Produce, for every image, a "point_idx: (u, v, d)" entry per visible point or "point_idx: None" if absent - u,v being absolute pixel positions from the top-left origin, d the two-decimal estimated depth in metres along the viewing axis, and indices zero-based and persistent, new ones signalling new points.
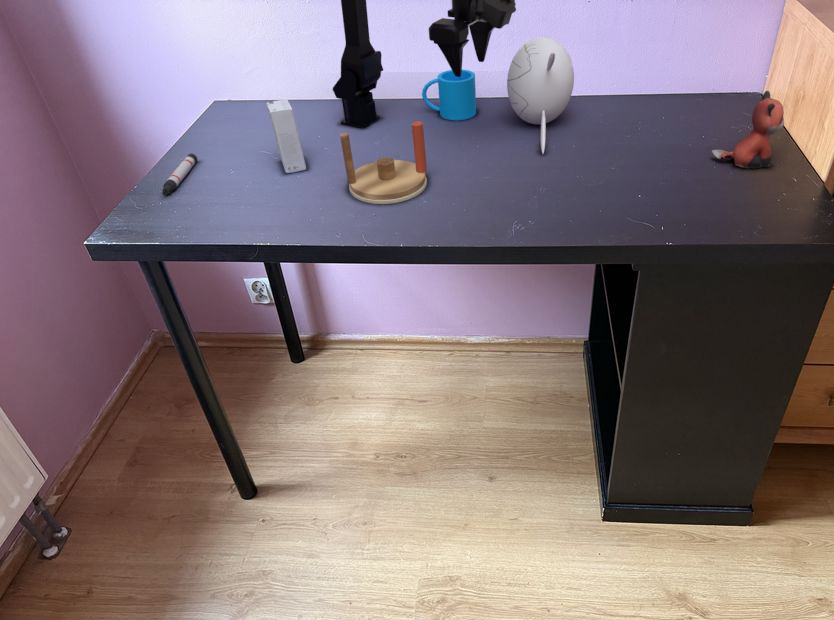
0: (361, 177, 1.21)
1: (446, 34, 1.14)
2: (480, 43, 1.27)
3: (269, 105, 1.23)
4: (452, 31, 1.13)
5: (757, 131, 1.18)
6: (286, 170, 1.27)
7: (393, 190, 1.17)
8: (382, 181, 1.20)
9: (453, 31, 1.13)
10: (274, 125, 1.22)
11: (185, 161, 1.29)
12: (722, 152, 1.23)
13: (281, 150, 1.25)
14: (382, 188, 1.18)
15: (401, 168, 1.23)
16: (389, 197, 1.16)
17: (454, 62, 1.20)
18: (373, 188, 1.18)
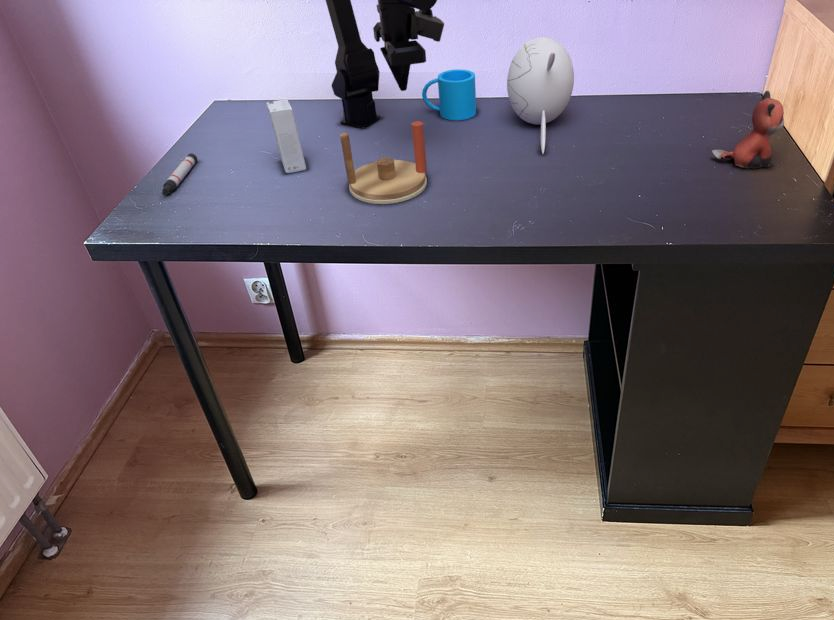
0: (361, 177, 1.21)
1: (413, 55, 1.14)
2: None
3: (269, 105, 1.23)
4: (420, 51, 1.14)
5: (757, 131, 1.18)
6: (286, 170, 1.27)
7: (393, 190, 1.17)
8: (382, 181, 1.20)
9: (421, 51, 1.14)
10: (274, 125, 1.22)
11: (185, 161, 1.29)
12: (723, 152, 1.23)
13: (281, 150, 1.25)
14: (382, 188, 1.18)
15: (401, 168, 1.23)
16: (389, 197, 1.16)
17: (403, 76, 1.23)
18: (373, 188, 1.18)
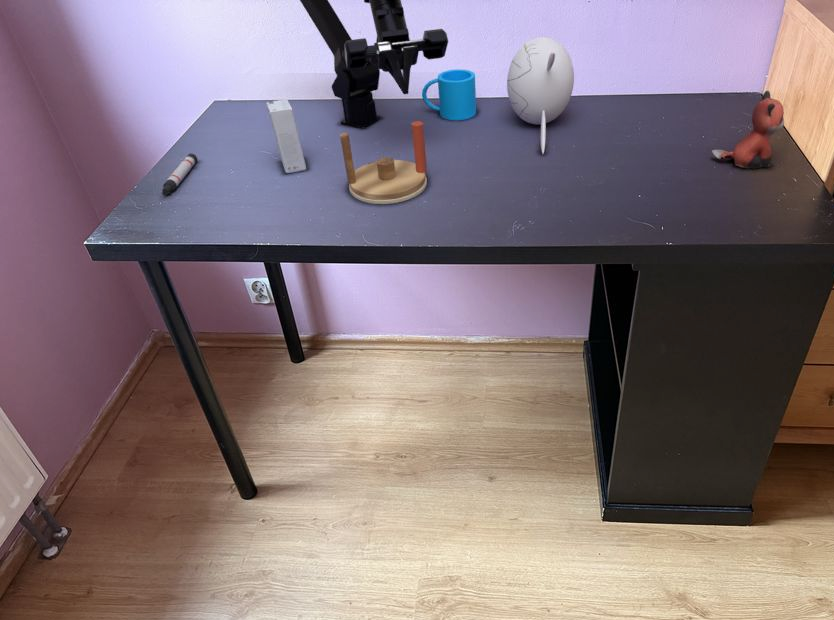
0: (361, 177, 1.21)
1: None
2: None
3: (269, 105, 1.23)
4: None
5: (757, 131, 1.18)
6: (286, 170, 1.27)
7: (393, 190, 1.17)
8: (382, 181, 1.20)
9: None
10: (274, 125, 1.22)
11: (185, 161, 1.29)
12: (723, 152, 1.23)
13: (281, 150, 1.25)
14: (382, 188, 1.18)
15: (401, 168, 1.23)
16: (389, 197, 1.16)
17: None
18: (373, 188, 1.18)
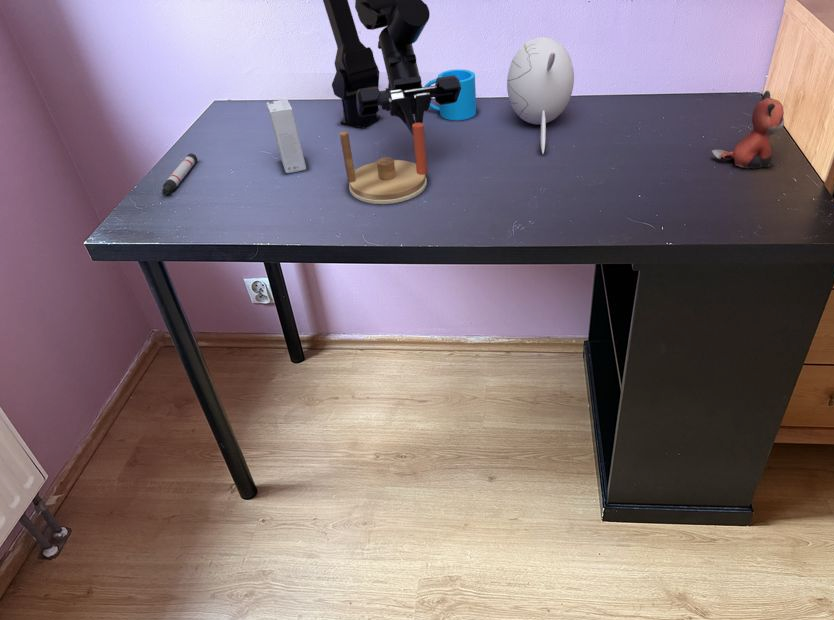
0: (361, 176, 1.22)
1: None
2: None
3: (269, 105, 1.23)
4: None
5: (757, 131, 1.18)
6: (286, 170, 1.27)
7: (390, 191, 1.17)
8: (381, 181, 1.20)
9: None
10: (274, 125, 1.22)
11: (185, 161, 1.29)
12: (722, 152, 1.23)
13: (281, 150, 1.25)
14: (379, 188, 1.18)
15: (403, 169, 1.23)
16: (385, 197, 1.16)
17: None
18: (371, 187, 1.18)
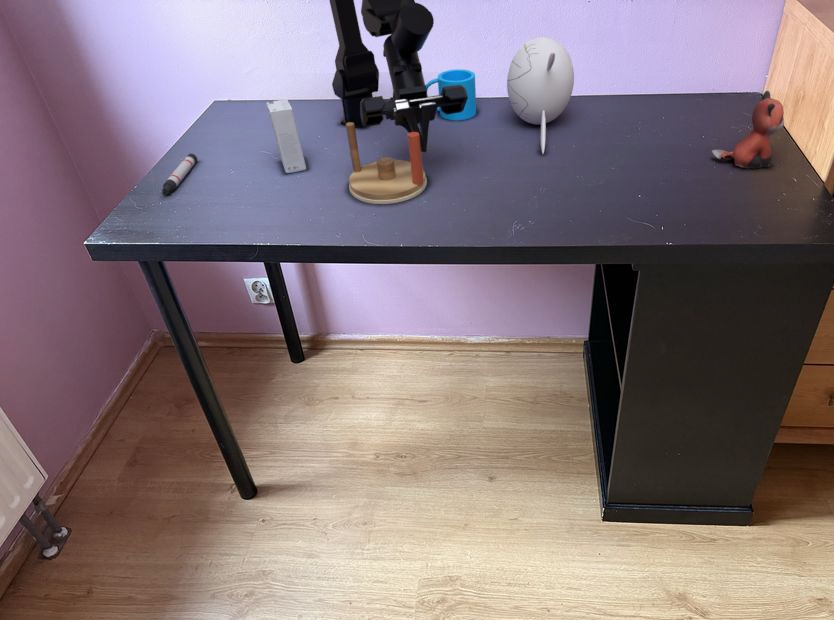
0: (369, 169, 1.24)
1: None
2: None
3: (269, 105, 1.23)
4: None
5: (757, 131, 1.18)
6: (286, 170, 1.27)
7: (370, 190, 1.17)
8: (376, 179, 1.21)
9: None
10: (274, 125, 1.22)
11: (185, 161, 1.29)
12: (722, 152, 1.23)
13: (281, 150, 1.25)
14: (366, 185, 1.19)
15: (407, 174, 1.22)
16: (363, 195, 1.17)
17: None
18: (361, 182, 1.20)
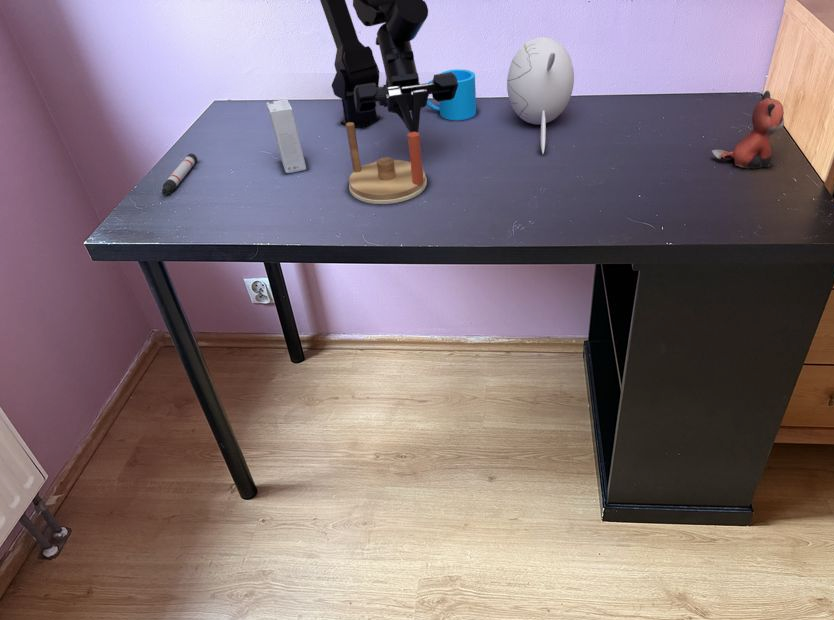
0: (369, 169, 1.24)
1: None
2: None
3: (269, 105, 1.23)
4: None
5: (757, 131, 1.18)
6: (286, 170, 1.27)
7: (370, 190, 1.17)
8: (376, 179, 1.21)
9: None
10: (274, 125, 1.22)
11: (185, 161, 1.29)
12: (722, 152, 1.23)
13: (281, 150, 1.25)
14: (366, 185, 1.19)
15: (407, 174, 1.22)
16: (363, 195, 1.17)
17: None
18: (361, 182, 1.20)
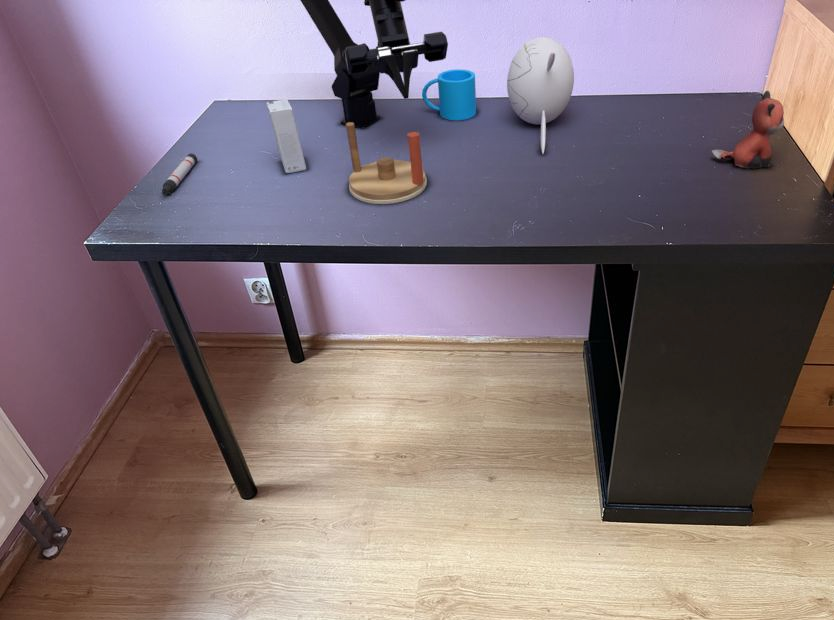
0: (369, 169, 1.24)
1: None
2: None
3: (269, 105, 1.23)
4: None
5: (757, 131, 1.18)
6: (286, 170, 1.27)
7: (370, 190, 1.17)
8: (376, 179, 1.21)
9: None
10: (274, 125, 1.22)
11: (185, 161, 1.29)
12: (722, 152, 1.23)
13: (281, 150, 1.25)
14: (366, 185, 1.19)
15: (407, 174, 1.22)
16: (363, 195, 1.17)
17: None
18: (361, 182, 1.20)
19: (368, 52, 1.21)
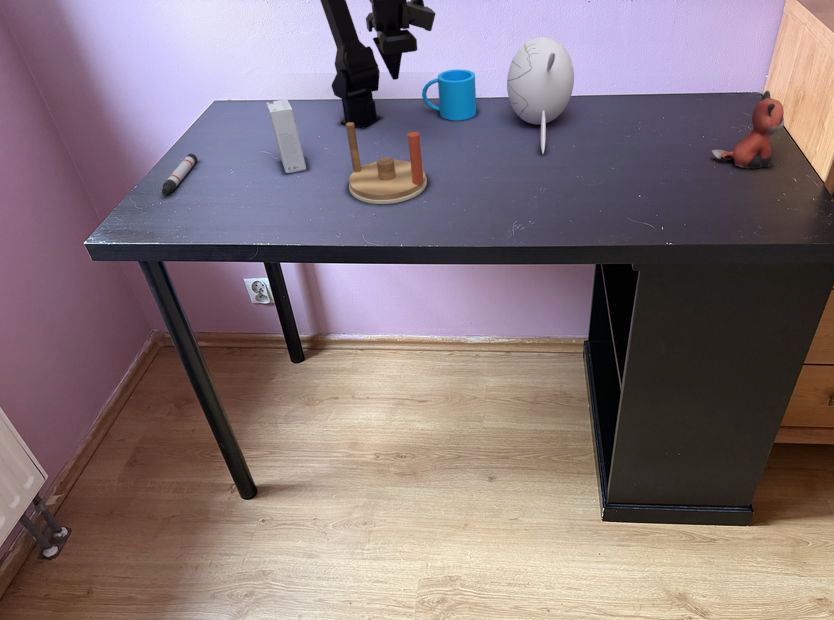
0: (369, 169, 1.24)
1: (405, 44, 1.16)
2: None
3: (269, 105, 1.23)
4: (411, 40, 1.16)
5: (757, 131, 1.18)
6: (286, 170, 1.27)
7: (370, 190, 1.17)
8: (376, 179, 1.21)
9: (412, 39, 1.16)
10: (274, 125, 1.22)
11: (185, 161, 1.29)
12: (722, 152, 1.23)
13: (281, 150, 1.25)
14: (366, 185, 1.19)
15: (407, 174, 1.22)
16: (363, 195, 1.17)
17: (394, 65, 1.25)
18: (361, 182, 1.20)
19: None
